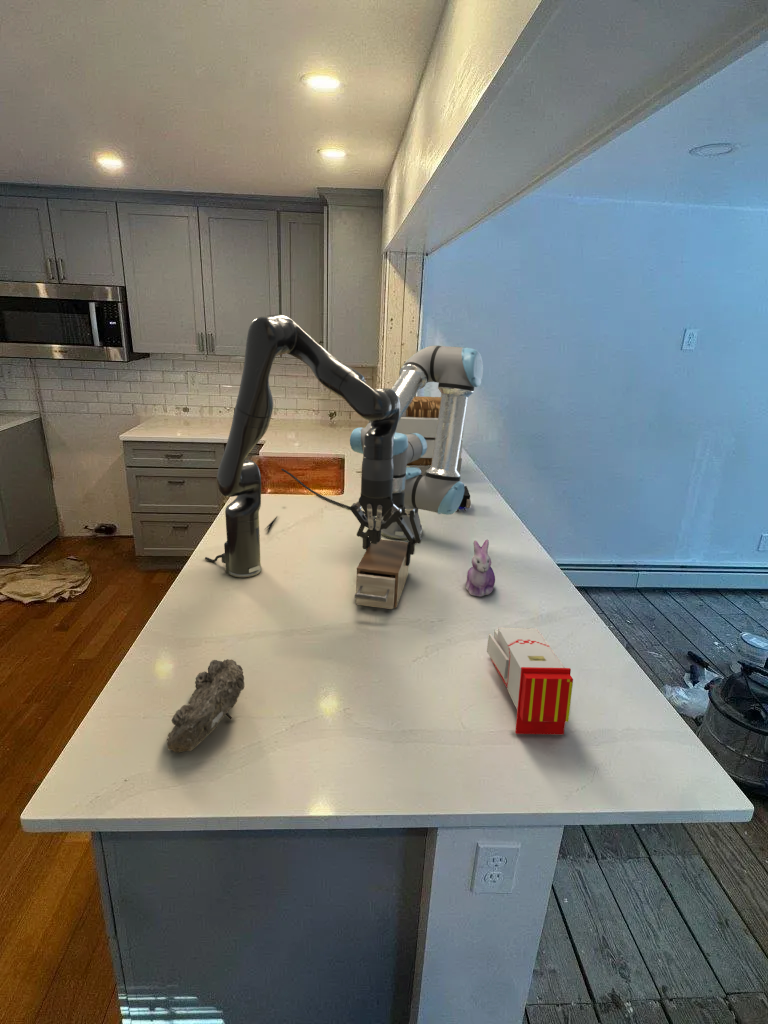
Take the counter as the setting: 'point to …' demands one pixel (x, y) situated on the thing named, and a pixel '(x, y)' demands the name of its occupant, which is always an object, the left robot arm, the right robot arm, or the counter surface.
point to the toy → (532, 679)
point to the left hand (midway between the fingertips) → (374, 542)
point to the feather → (270, 524)
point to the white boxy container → (423, 426)
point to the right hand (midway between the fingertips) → (387, 561)
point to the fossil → (206, 705)
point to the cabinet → (387, 563)
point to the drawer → (375, 590)
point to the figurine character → (465, 500)
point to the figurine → (480, 572)
